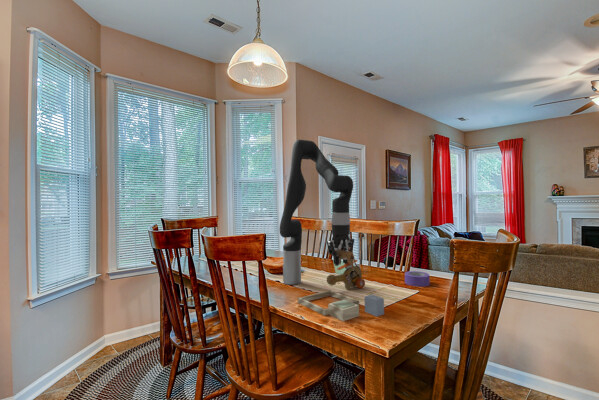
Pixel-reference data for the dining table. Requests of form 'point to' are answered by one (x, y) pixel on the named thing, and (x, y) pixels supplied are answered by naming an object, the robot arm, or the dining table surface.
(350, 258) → the lion figurine
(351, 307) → the grey rectangular frame
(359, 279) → the toy helicopter
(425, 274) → the tape roll
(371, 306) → the fin block
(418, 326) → the dining table surface
